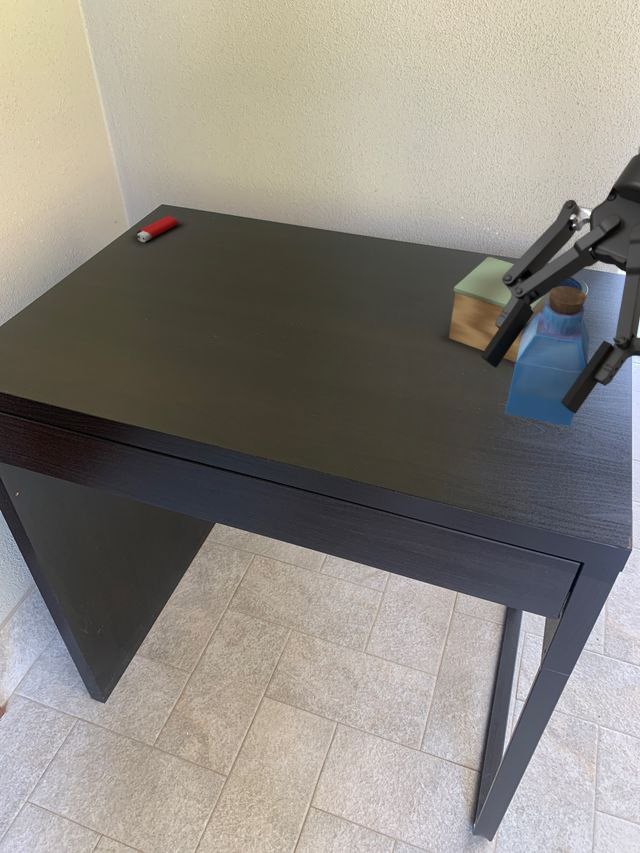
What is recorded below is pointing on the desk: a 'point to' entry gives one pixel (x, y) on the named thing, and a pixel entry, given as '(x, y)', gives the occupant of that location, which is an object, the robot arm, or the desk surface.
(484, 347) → the pale green square pedestal
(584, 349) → the perfume bottle
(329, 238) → the desk surface
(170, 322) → the desk surface
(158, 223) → the lighter
